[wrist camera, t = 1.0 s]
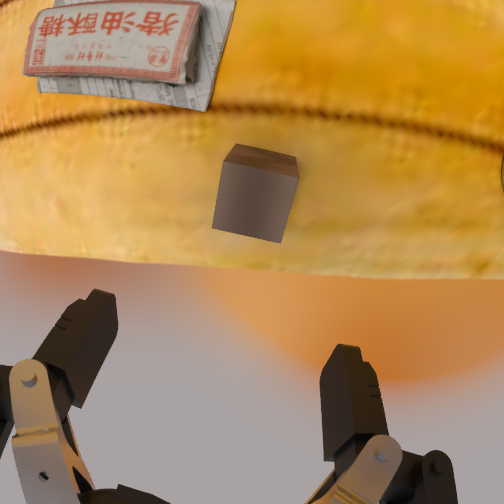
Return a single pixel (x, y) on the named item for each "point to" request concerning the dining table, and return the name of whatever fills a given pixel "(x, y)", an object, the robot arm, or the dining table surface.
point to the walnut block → (255, 193)
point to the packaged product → (130, 49)
